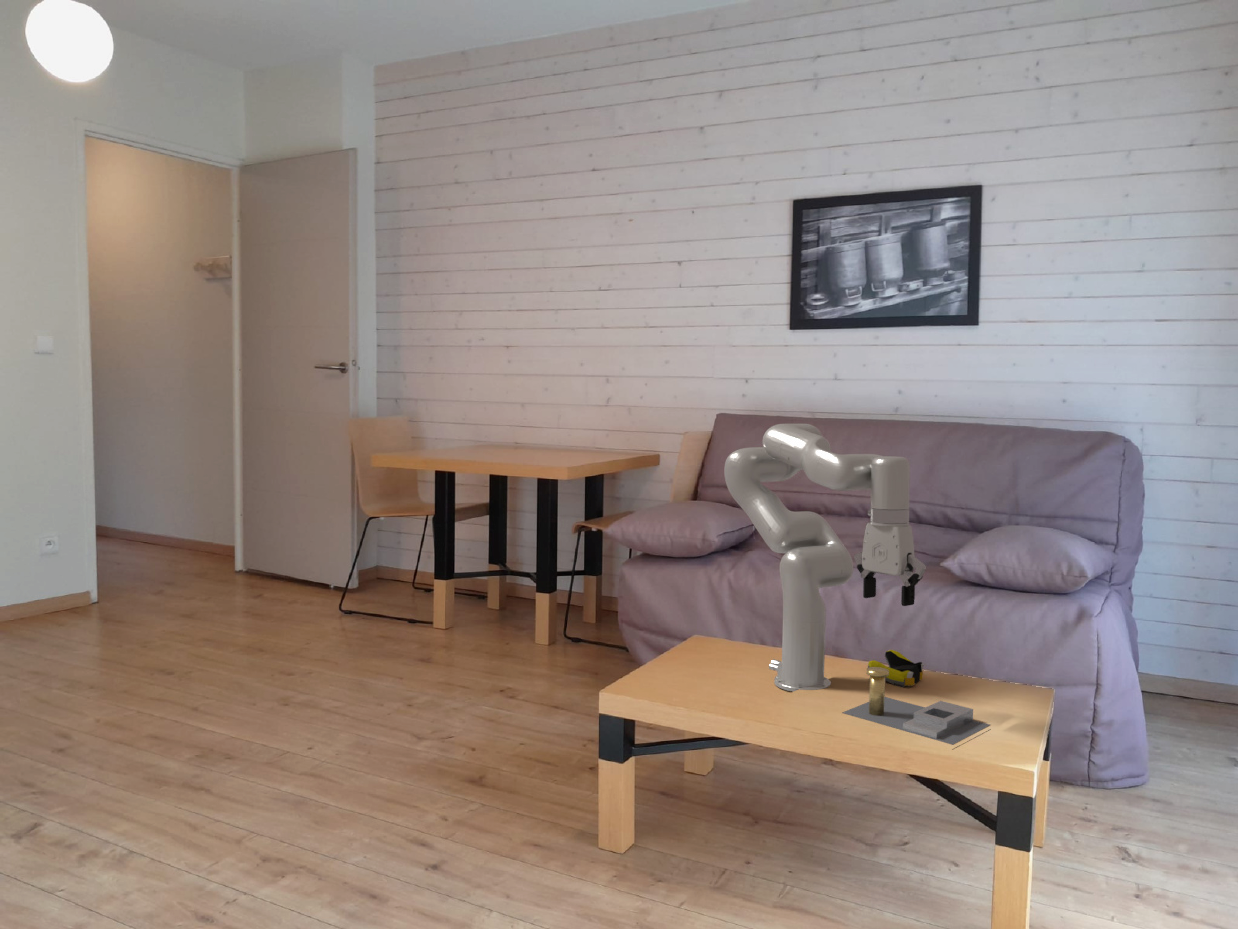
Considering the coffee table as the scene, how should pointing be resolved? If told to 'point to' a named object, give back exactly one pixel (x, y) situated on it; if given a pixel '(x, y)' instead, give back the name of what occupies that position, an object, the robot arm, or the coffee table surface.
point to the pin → (877, 690)
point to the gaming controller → (900, 669)
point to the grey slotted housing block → (939, 719)
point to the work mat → (904, 712)
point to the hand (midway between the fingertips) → (888, 601)
